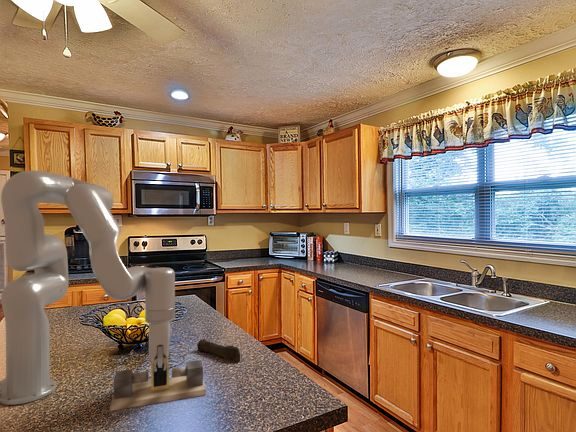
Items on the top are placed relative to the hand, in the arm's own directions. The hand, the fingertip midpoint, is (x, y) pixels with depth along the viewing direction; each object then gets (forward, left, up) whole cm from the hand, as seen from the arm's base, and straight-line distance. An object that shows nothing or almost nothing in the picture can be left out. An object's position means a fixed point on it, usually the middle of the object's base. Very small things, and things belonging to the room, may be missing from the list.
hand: (160, 377), depth 95 cm
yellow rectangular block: (0, 0, -3) cm, 3 cm away
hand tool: (+19, +21, -5) cm, 29 cm away
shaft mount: (0, 0, -4) cm, 4 cm away
